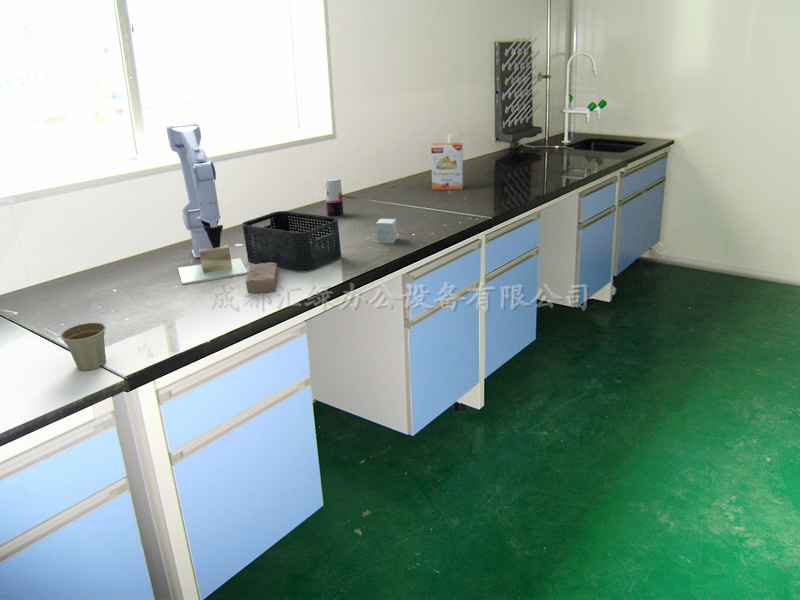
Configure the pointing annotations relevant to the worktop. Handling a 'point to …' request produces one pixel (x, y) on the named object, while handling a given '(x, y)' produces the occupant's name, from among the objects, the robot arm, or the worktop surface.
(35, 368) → the worktop surface
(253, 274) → the brick
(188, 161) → the robot arm
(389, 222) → the product box
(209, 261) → the slab
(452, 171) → the cracker box
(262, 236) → the storage bin
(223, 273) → the mat
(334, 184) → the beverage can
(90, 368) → the flower pot
